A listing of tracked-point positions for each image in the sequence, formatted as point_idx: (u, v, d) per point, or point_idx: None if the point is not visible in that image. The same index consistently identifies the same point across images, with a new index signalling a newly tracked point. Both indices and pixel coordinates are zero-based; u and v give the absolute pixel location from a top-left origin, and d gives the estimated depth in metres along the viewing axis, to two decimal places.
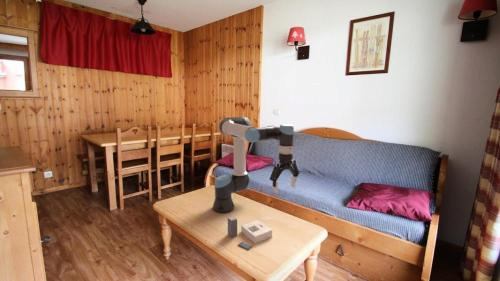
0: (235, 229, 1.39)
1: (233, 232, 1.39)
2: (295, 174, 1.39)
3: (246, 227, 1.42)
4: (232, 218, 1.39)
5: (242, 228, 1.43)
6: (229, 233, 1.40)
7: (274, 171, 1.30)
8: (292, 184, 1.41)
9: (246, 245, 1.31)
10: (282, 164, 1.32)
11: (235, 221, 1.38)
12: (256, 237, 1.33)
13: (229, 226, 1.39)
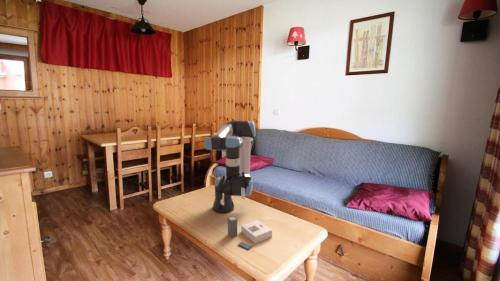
0: (235, 229, 1.39)
1: (233, 232, 1.39)
2: (244, 186, 1.39)
3: (246, 227, 1.42)
4: (232, 218, 1.39)
5: (242, 228, 1.43)
6: (229, 233, 1.40)
7: (220, 184, 1.30)
8: (242, 196, 1.41)
9: (246, 245, 1.31)
10: (228, 176, 1.32)
11: (235, 221, 1.38)
12: (256, 237, 1.33)
13: (229, 226, 1.39)
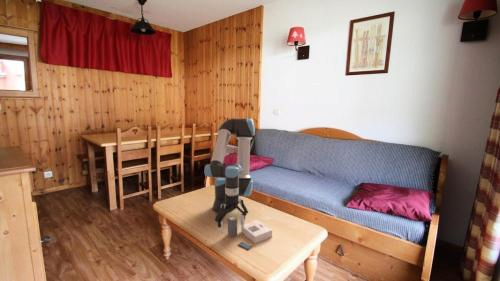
0: (235, 229, 1.39)
1: (233, 232, 1.39)
2: (243, 213, 1.42)
3: (246, 227, 1.42)
4: (232, 218, 1.39)
5: (242, 228, 1.43)
6: (229, 233, 1.40)
7: (219, 212, 1.33)
8: (241, 223, 1.44)
9: (246, 245, 1.31)
10: (227, 205, 1.35)
11: (235, 221, 1.38)
12: (256, 237, 1.33)
13: (229, 226, 1.39)
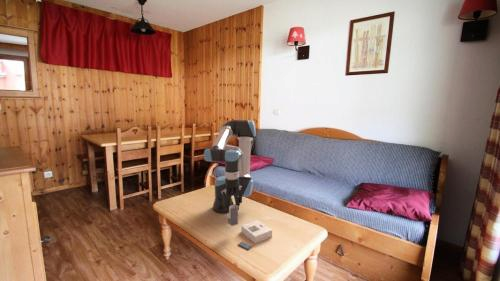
0: (235, 217, 1.38)
1: (233, 220, 1.38)
2: (237, 202, 1.39)
3: (246, 227, 1.42)
4: (232, 206, 1.38)
5: (242, 228, 1.43)
6: (229, 221, 1.39)
7: (223, 199, 1.34)
8: None
9: (246, 245, 1.31)
10: (228, 189, 1.33)
11: (235, 209, 1.37)
12: (256, 237, 1.33)
13: None
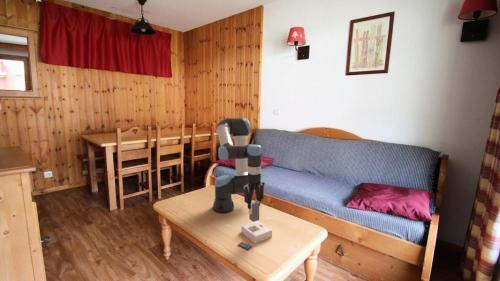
0: (257, 213, 1.37)
1: (255, 216, 1.36)
2: (259, 198, 1.38)
3: (246, 227, 1.42)
4: (254, 202, 1.37)
5: (242, 228, 1.43)
6: (251, 217, 1.37)
7: (245, 194, 1.33)
8: None
9: (246, 245, 1.31)
10: (250, 184, 1.33)
11: (257, 205, 1.36)
12: (256, 237, 1.33)
13: None
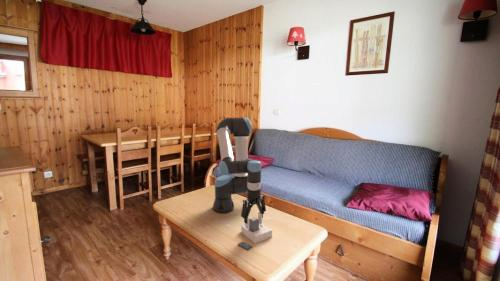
0: (257, 229, 1.39)
1: None
2: (261, 211, 1.40)
3: None
4: (254, 218, 1.39)
5: (242, 228, 1.43)
6: None
7: (243, 209, 1.34)
8: (259, 221, 1.42)
9: (246, 245, 1.31)
10: (250, 200, 1.34)
11: (257, 221, 1.38)
12: (256, 237, 1.33)
13: (251, 227, 1.38)
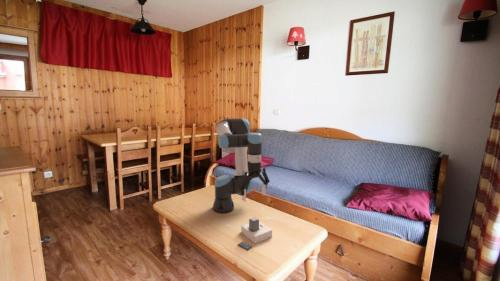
0: (257, 229, 1.39)
1: None
2: (265, 182, 1.39)
3: (246, 227, 1.42)
4: (254, 218, 1.39)
5: (242, 228, 1.43)
6: None
7: (242, 180, 1.31)
8: (263, 192, 1.41)
9: (246, 245, 1.31)
10: (250, 173, 1.32)
11: (257, 221, 1.38)
12: (256, 237, 1.33)
13: (251, 227, 1.38)
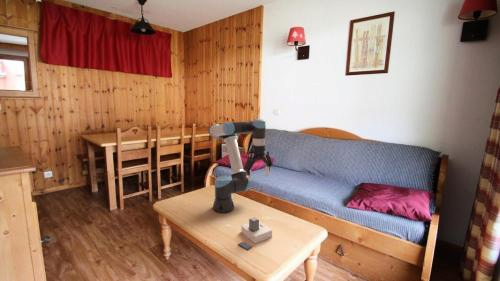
0: (257, 229, 1.39)
1: None
2: (268, 164, 1.54)
3: (246, 227, 1.42)
4: (254, 218, 1.39)
5: (242, 228, 1.43)
6: None
7: (248, 161, 1.45)
8: (266, 174, 1.56)
9: (246, 245, 1.31)
10: (255, 155, 1.47)
11: (257, 221, 1.38)
12: (256, 237, 1.33)
13: (251, 227, 1.38)
